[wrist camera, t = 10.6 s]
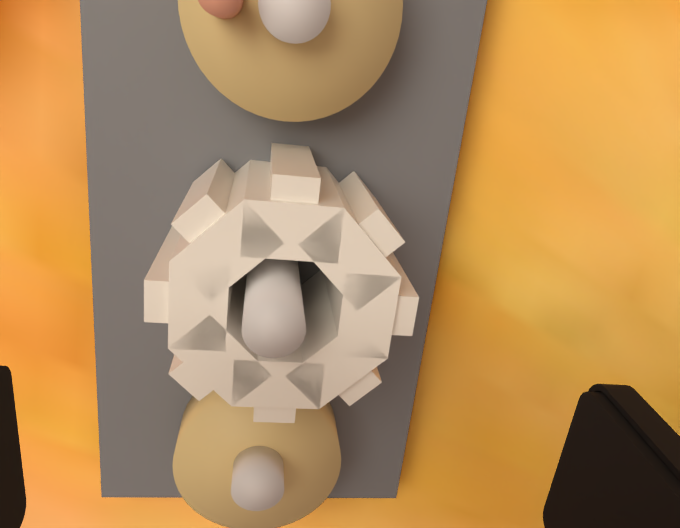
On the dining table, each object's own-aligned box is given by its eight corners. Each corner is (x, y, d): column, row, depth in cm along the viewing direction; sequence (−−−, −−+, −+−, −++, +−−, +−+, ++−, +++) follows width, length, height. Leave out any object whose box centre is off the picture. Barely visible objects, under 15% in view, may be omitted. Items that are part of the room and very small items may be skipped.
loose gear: (399, 154, 19) (441, 190, 15) (369, 347, 22) (397, 429, 17) (174, 131, 18) (142, 163, 13) (171, 337, 21) (142, 423, 16)
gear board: (485, -76, 18) (616, -146, 11) (389, 473, 26) (433, 632, 19) (89, -138, 17) (-40, -265, 10) (111, 470, 24) (47, 644, 17)
